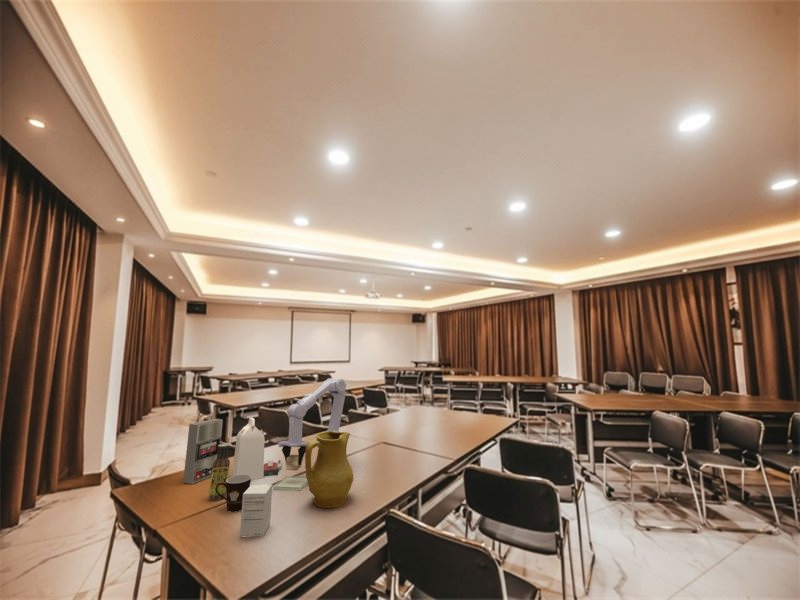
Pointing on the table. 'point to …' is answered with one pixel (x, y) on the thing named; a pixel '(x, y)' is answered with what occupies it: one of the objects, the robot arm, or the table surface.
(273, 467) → the walkie-talkie
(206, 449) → the cassette tape recorder
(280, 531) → the table surface
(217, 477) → the sauce bottle
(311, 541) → the table surface
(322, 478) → the pitcher
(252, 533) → the supplement box
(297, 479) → the sage tile
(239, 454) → the milk
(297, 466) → the beech cube
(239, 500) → the coffee mug
